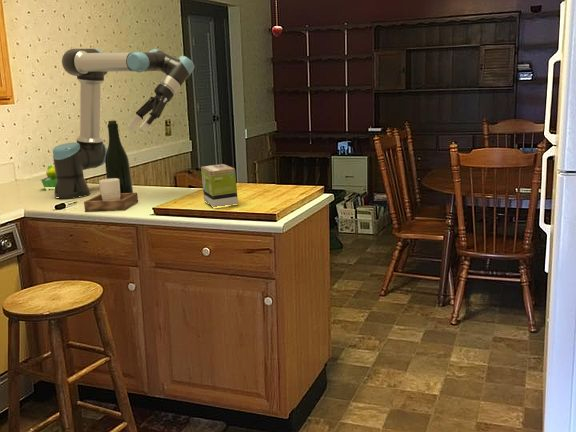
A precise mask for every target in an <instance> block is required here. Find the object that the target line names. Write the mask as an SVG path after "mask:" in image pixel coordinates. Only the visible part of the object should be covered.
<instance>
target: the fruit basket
mask: <svg viewBox="0 0 576 432" xmlns="http://www.w3.org/2000/svg"><path fill="white" fill-rule="evenodd" d="M45 174H46V176H47V177H44V178H42V179H40V181H41V183H42V186H43V188H44V187H56V182H57V179H56V172H55V166H53V165H48V167H47V170H46V173H45Z"/></svg>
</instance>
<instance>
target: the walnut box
mask: <svg viewBox="0 0 576 432" xmlns="http://www.w3.org/2000/svg"><path fill="white" fill-rule="evenodd" d="M120 199H121V200H107V201H103V199H102V195H101V193H99V194H97V195H96V196H93V197H91V198H89V199H88V200H85V201H84V202H83V204H84V205H83V206H84V212H85V213H92V212H93V213H96V212H119V211H120V212H121V211H126V210H128V209H130V208H132V207H133V206H134V205H136V204H138V203H139V195H138V192H133V193H120Z"/></svg>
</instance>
